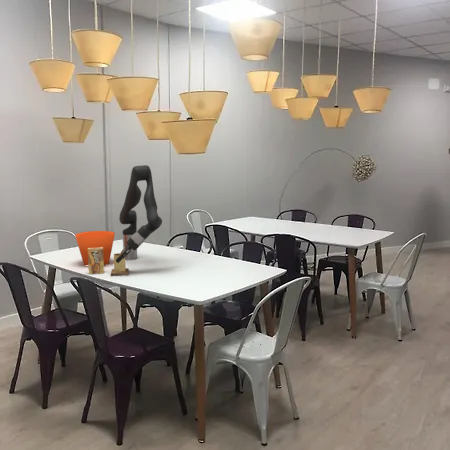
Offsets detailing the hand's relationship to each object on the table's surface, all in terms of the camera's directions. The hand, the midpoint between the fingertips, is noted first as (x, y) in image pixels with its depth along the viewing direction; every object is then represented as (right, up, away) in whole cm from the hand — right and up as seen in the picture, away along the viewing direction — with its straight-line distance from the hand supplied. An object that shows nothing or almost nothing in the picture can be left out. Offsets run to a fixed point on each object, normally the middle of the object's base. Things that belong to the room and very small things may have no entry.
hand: (117, 260), depth 291 cm
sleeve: (+2, -6, +1) cm, 7 cm away
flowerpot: (-19, -4, +28) cm, 34 cm away
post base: (+1, -8, +1) cm, 8 cm away
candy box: (-13, -8, +3) cm, 15 cm away
